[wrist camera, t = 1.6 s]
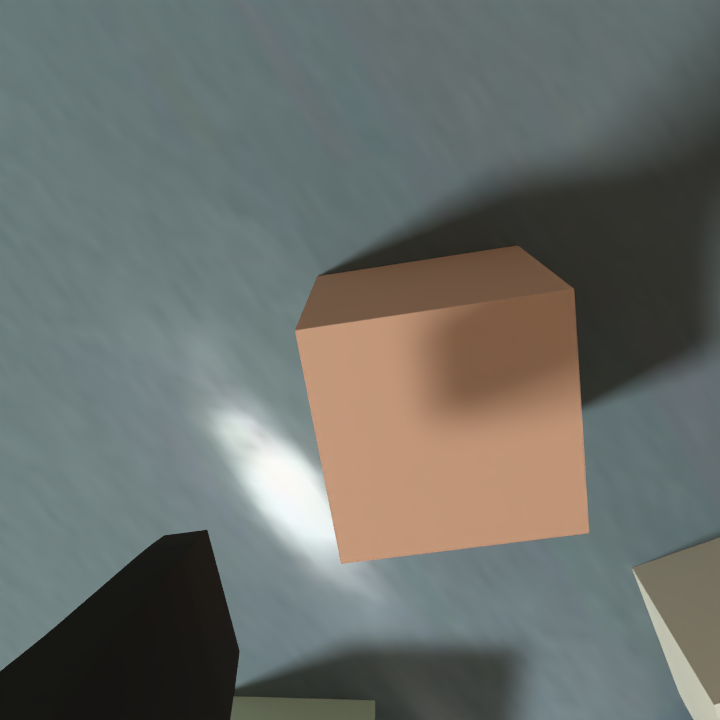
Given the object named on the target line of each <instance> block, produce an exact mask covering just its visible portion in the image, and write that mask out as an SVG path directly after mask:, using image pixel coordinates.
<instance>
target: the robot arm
mask: <svg viewBox="0 0 720 720" xmlns="http://www.w3.org/2000/svg"><path fill="white" fill-rule="evenodd" d="M238 659H239V648H238V644H237V640H236V636H235V633H234V629H233V625H232V621H231V618H230V614H229V610H228V606H227V603H226V599H225V595H224V591H223V588H222V584H221V580H220V576H219V572H218V569H217V565H216V561H215V557H214V554H213V550H212V546H211V542H210V539H209V535H208V531H207V530H203V531H195V532H188V533H180V534H172V535H165V536H163V537H161V538H160V539H159V540H157V541H156V542H154V543H153V544H152V545H151V546H149V547H148V548H147V549H145V550H144V551H143V552H142V553H141V554H139V555H138V556H137V557H136V558H135V559H133V560H132V561H131V562H130V563H129V564H128V565H126V566H125V567H124V568H123V569H122V570H121V571H119V572H118V573H117V574H116V575H115V576H114V577H112V578H111V579H110V580H109V581H108V582H107V583H106V584H104V585H103V586H102V587H101V588H100V589H99V590H98V591H96V592H95V593H94V594H93V595H92V596H91V597H89V598H88V599H87V600H86V601H85V602H84V603H82V604H81V605H80V606H79V607H78V608H77V609H75V610H74V611H73V612H72V613H71V614H70V615H69V616H67V617H66V618H65V619H64V620H63V621H62V622H60V623H59V624H58V625H57V626H56V627H55V628H53V629H52V630H51V631H50V632H49V633H47V634H46V635H45V636H44V637H43V638H41V639H40V640H39V641H38V642H36V643H35V644H34V645H33V646H31V647H30V648H29V649H28V650H26V651H25V652H24V653H23V654H21V655H20V656H19V657H18V658H16V659H15V660H14V661H13V662H11V663H10V664H9V665H8V666H6V667H5V668H4V669H3V670H1V671H0V720H230V718H231V711H232V704H233V698H234V691H235V683H236V675H237V667H238Z"/></svg>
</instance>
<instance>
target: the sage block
mask: <svg viewBox="0 0 720 720" xmlns="http://www.w3.org/2000/svg"><path fill="white" fill-rule="evenodd" d="M230 720H375V700H341V699H308V698H274V697H241V696H234V698H233V704H232V711H231V718H230Z"/></svg>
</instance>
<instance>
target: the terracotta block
mask: <svg viewBox="0 0 720 720" xmlns="http://www.w3.org/2000/svg"><path fill="white" fill-rule="evenodd" d="M295 332H296V338H297V343H298V348H299V353H300V358H301V363H302V368H303V373H304V378H305V383H306V388H307V393H308V398H309V403H310V409H311V414H312V419H313V424H314V429H315V434H316V439H317V444H318V449H319V454H320V459H321V464H322V469H323V474H324V480H325V485H326V490H327V495H328V500H329V505H330V510H331V515H332V520H333V525H334V530H335V535H336V540H337V545H338V550H339V556H340V561H341V564H343V563H351V562H359V561H367V560H375V559H383V558H391V557H400V556H408V555H416V554H424V553H432V552H440V551H448V550H456V549H464V548H472V547H480V546H489V545H497V544H505V543H513V542H521V541H529V540H537V539H545V538H553V537H561V536H569V535H578V534H586V533H589V523H588V507H587V490H586V474H585V458H584V441H583V425H582V409H581V392H580V376H579V360H578V344H577V327H576V311H575V295H574V288H572V287H571V286H570V285H569V284H567V283H566V282H565V281H563V280H562V279H561V278H560V277H558V276H557V275H556V274H554V273H553V272H552V271H550V270H549V269H548V268H547V267H545V266H544V265H543V264H541V263H540V262H539V261H538V260H536V259H535V258H534V257H532V256H531V255H530V254H528V253H527V252H526V251H525V250H523V249H522V248H521V247H519V246H518V245H517V246H510V247H504V248H497V249H491V250H484V251H478V252H471V253H465V254H458V255H452V256H446V257H439V258H433V259H426V260H420V261H413V262H407V263H400V264H394V265H387V266H381V267H375V268H368V269H362V270H355V271H349V272H342V273H336V274H329V275H323V276H317V278H316V281H315V283H314V286H313V288H312V290H311V293H310V295H309V298H308V300H307V303H306V305H305V307H304V310H303V312H302V315H301V317H300V320H299V322H298V324H297V327H296V329H295Z"/></svg>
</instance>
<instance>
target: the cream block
mask: <svg viewBox="0 0 720 720" xmlns="http://www.w3.org/2000/svg"><path fill="white" fill-rule="evenodd" d="M632 569H633V572H634V575H635V577H636V580H637V582H638V585H639V588H640V590H641V593H642V596H643V598H644V601H645V604H646V606H647V609H648V612H649V614H650V617H651V620H652V622H653V625H654V628H655V630H656V633H657V636H658V638H659V641H660V643H661V646H662V649H663V651H664V654H665V657H666V659H667V662H668V665H669V667H670V670H671V673H672V675H673V678H674V681H675V683H676V686H677V689H678V691H679V694H680V696H681V698H682V700H683V701H684V703H685V705H686V707H687V709H688V711H689V712H690V714H691V716H692V718H693V720H720V537H719V538H717V539H714V540H711V541H708V542H705V543H702V544H699V545H696V546H694V547H691V548H688V549H685V550H682V551H679V552H676V553H673V554H670V555H668V556H665V557H662V558H659V559H656V560H653V561H650V562H647V563H645V564H642V565H639V566H636V567H633V568H632Z"/></svg>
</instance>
